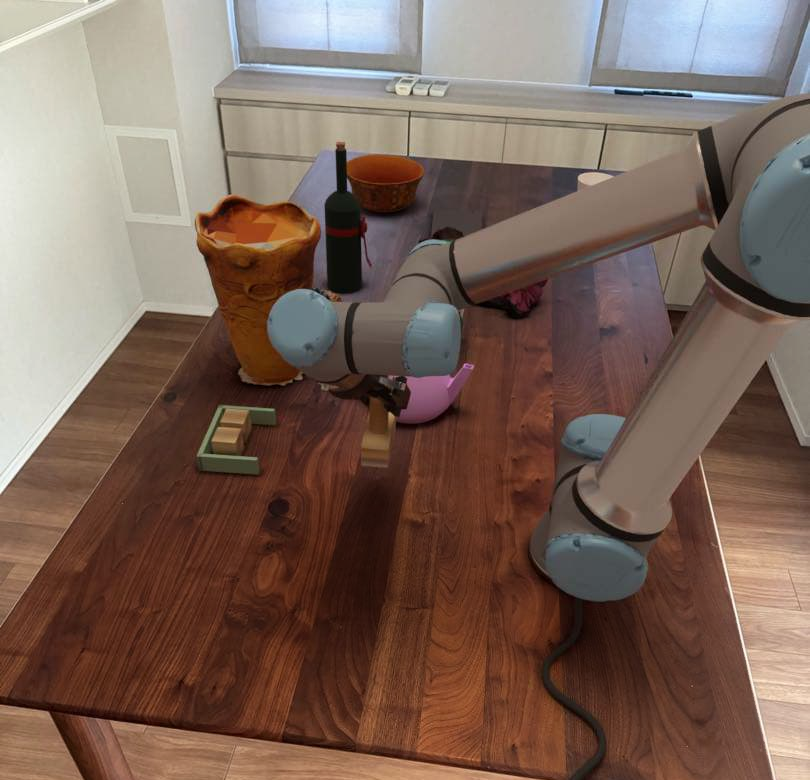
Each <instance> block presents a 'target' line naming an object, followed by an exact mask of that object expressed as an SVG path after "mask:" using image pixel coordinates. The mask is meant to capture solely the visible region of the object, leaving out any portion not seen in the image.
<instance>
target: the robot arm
mask: <svg viewBox="0 0 810 780" xmlns="http://www.w3.org/2000/svg"><path fill="white" fill-rule="evenodd" d="M702 226H704V227H707V228H709V229H711V230H713V231H714V233H712V234H713V235H712V236H711V237H710V239H709V241H708V243H707V245H706V247H705V248H704V250H703V252H702V254H701V256H700V264H701V265H700V266H701V268H702V271H703V274H704V278H705V282H704V284H703V285H702V287H701V289H700V290H699V292H698V294H697V295H696V298H695V299H694V301H693V302H692V304H691V306H690V307H689V309H688V311H687V313H686V314H685V316H684V317H683V319H682V321H681V323H680V325H679V326H678V328H677V329H676V332H675V334H674V335H673V337H672V339H671V340H670V342H669V344H668V345H667V347H666V349H665V350H664V352H663V354H662V356H661V357H660V359H659V360H658V362H657V364H656V366H655V367H654V369H653V371H652V373H651V374H650V376H649V378H648V379H647V381H646V383H645V385H644V387H643V388H642V390H641V392H640V394H639V395H638V397H637V398H636V399H635V402H634V404H633V405H632V407H631V408H630V411H629V412H628V414H627V415H626V417H623V416H620V415H615V414H607V413H592V414H588V415H582V416H579V417H576V418H575V419H573V420H571V421H570V422H569V423H568V424H567V426H566V427H565V429H564V434H563V437H562V438H561V440H560V444H561V447H560V452H559V457H558V462H557V466H556V472H555V477H554V482H553V487H552V492H551V497H550V502H549V507H548V509H546V511H545V513H544V514H543V515H542V517H541V518H540V520H539V522H538V523H537V524H536V525H535V527H534V529H533V531H532V533H531V534H530V538H529V543H528V549H527V550H528V551H527V552H528V558H529V562H530V564H531V566H532V567H533V568H534V570H535V572H537V574H538V575H539V576H540V577H542V578H543V579H544V580H545V581H546V582H548V583H549V584H551V585H552V586H555V587H557V588H558V589H560V590H561V591H562V592H564V593H566V594H568V595H570V596H572V597H575V601H574V624H573V629H572V631H571V632H570V635H569V636H568V638H567V639H566V640H565V641H563V642H562V643H561V644H560V645H559V646H557V647H556V648H555V649H554V650H552V651H551V652H550V653H549V654H548V655H547V656H546V658H545V659H544V661H543V662H542V666H541V678H542V682H543V684H544V686H545V689H546V690H547V691H548V692H549V693H550V694H551V695H552V697H554V698H555V699H556V700H558V701H559V702H560V703H562V705H565V706H566V707H567V708H569V709H570V710H572V711H573V712H575V713H576V714H577V715H579V716H580V717H581V718H583V719H584V720H585V721H586V722H587V723H588V724H589V725H590V726H591V727H592V728H593V731H594V732H595V734H596V738H597V749H596V751H595V753H594V755H592V757H591V758H589V760H587V761H586V762H585V763H584V764H583V765H581V767H579V768H578V769H577V770H576V771H575V772H574V773H573V774H572V776H571V777H570V778H569V780H582V779H583V778H584V777H585V776H586V775H587V774H589V772H591V771H592V770H593V769H594V768H595V767H596V766H598V764H599V763H600V762H601V761H602V759H603V758H604V757H605V754H606V750H607V737H606V733H605V729H604V728H603V727H602V725H601V723H600V722H599V721H598V720H597V719H596V717H594V716H593V714H591V712H589V711H588V710H586V709H585V708H584V707H582V706H581V705H579V704H578V703H576V702H575V701H573V700H572V699H570V698H569V697H568V696H566V695H565V694H564V693H562V692H561V690H559V689H558V688H557V687H556V686H555V685H554V683H553V682H552V680H551V675H550V667H551V665H552V663H553V662H554V661H555V660H556V659H557V658H558V657H560V656H561V655H562V654H563V653H565V652H566V651H567V650H568V649H569V648H571V647H572V646H573V644H574V643H575V642H576V640H577V639H578V637H579V635H580V633H581V630H582V623H583V622H582V621H583V619H582V618H583V617H582V615H583V614H582V613H583V611H582V610H583V609H582V606H583V600H584V601H591V602H599V603H603V602H607V601H613V602H614V601H619V600H623V599H625V598H628V597H630V596H633V595H634V594H635V593H637V592H638V591H639V590H640V589H641V588H642V587H643V585H644V583H645V581H646V579H647V573H648V572H649V563H648V556H649V553H650V550H651V549H652V548H653V546H654V545H655V544H656V542H657V541H658V539H659V538H660V537H661V535H662V534H663V532H664V531H665V530H666V528H667V527H668V526H669V524H670V522H671V521H672V517H673V508H672V504H671V501H670V499H671V497H672V495H673V494H674V493H675V491H676V490H677V488H678V487H679V485H680V484H681V483H682V481H683V479H685V477H686V476H687V474H688V472H689V471H690V470H691V468H692V467H693V465H694V464H695V462H696V461H697V460H698V458H699V457H700V455H701V454H702V452H703V451H704V450H705V449H706V447H707V445H708V444H709V442H710V441H711V439H712V438H713V437H714V435H715V434H716V432H717V431H718V430H719V429H720V427H721V425H722V424H723V422H724V421H725V419H726V418H727V417H728V415H729V414H730V412H731V411H732V409H733V408H734V407H735V405H736V404H737V402H738V401H739V400H740V398H741V397H742V395H743V394H744V392H745V391H746V390H747V388H748V386H749V385H750V384H751V382H752V381H753V379H754V378H755V377H756V375H757V373H758V372H760V370H761V368H762V366H764V363H765V362H766V361H767V360H768V358H769V357H770V355H771V353H772V352H773V350H774V349H775V348H776V346H777V345H778V343H779V342H780V340H781V339H782V338H783V336H784V335H785V333H786V332H787V331H788V329H789V328H790V326H792V325H793V324H797V323H801V322H806V321H809V320H810V92H804V93H798V94H793V95H792V94H791V95H789V96H785V97H784V96H783V97H781V98H778V99H775V100H772V101H769V102H767V103H764V104H762V105H759V106H755V107H754V108H750V109H748V110H746V111H744V112H741V113H739V114H736V115H734V116H731V117H729V118H727V119H724V120H722V121H719V122H717V123H715V124H712V125H710V126H707V127H704V128H702V129H700V130H698V131H695V132H693V134H692V136H691V137H690V139H689V140H688V143H687V144H686V145H685V147H684V148H682V149H679V150H677V151H674V152H672V153H669V154H667V155H665V156H662V157H659V158H657V159H653V160H652V161H649V162H647V163H645V164H642V165H640V166H637V167H635V168H632V169H629V170H627V171H624V172H622V173H619V174H617V175H613V177H612V178H609V179H607V180H604V181H602V182H599V183H597V184H594V185H592V186H589V187H587V188H584V189H582V190H579V191H577V190H576V191H575V192H572V193H570V194H567V195H565V196H562V197H560V198H557V199H555V200H552V201H550V202H547V203H545V204H542V205H540V206H537V207H535V208H532V209H530V210H527V211H525V212H522V213H520V214H517V215H515V216H512V217H509V218H507V219H504V220H502V221H500V222H497V223H495V224H492V225H490V226H486V227H485V228H482V230H480V231H477V232H475V233H472V234H470V235H467V236H465V237H462V238H460V239H456V240H454V241H451V242H446V241H442V240H433V239H432V240H426V241H424V242H421V243H420V244H419V243H418V244H417V245H416V246H414V247H413V248H412V250H410V251H411V252H410V251H409V253H408V254H407V256H405V257H404V258H403V260H402V262H401V263H400V266H399V269H398V271H397V274H396V276H395V277H394V279H393V282H392V284H391V286H390V288H389V290H388V291H387V294H386V296H385V297H384V299H383V301H382V302H373V301H372V302H371V301H370V302H369V301H367V302H363V301H362V302H361V301H360V302H359V301H358V302H357V301H356V302H353V301H342V302H330V300H328V299H327V298H326V297H324V296H322V295H320V294H319V293H317V292H315V291H312V290H308V289H297V290H293V291H290V292H288V293H286V294H285V295H283V296H282V297H281V298H279V299H278V300H277V302H276V303H275V304H274V306H273V307H272V309H271V311H270V314H269V317H268V322H267V331H268V336H269V339H270V342H271V344H272V345H273V347H274V348H275V349H276V351H277V352H278V353H279V354H280V355H281V356H282V358H283V359H284V360H285V361H286V362H287V363H289V364H290V365H292V366H294V367H295V368H297V369H298V370H300V371H301V372H303V374H304V375H305V376H307V377H308V378H310V379H311V380H313V381H314V382H315V383H316V384H318V385H319V386H320V390H321V391H322V392H324V393H329V394H331V395H332V396H333V397H335V398H337V399H341V400H354V401H358V400H360V402H361V403H362V404H363V405H365V407H367V408H368V409H369V397H372V398H377V399H379V400H380V401H382V402H383V403H385V404H384V407H385V408H386V409H387V410H386V411H388V412H390V413H392V414H393V415H394V416H396V417H400V413H401V409H403V410H404V409H407V406H408V403H409V399H410V395H411V391H410V389H409V387H408V386H407V384H406V383H407V378H405V376H408V377H414V378H421V377H425V376H446V375H449V374H450V375H452V373H453V372H454V371H455V370H456V368H457V366H458V363H459V359H460V352H461V342H462V335H461V324H460V316H459V313H458V311H459V310H462V309H464V310H465V309H468V308H471V307H473V306H476V305H479V303H480V302H483V301H486V300H489V299H492V298H495V297H498V296H500V295H503V294H506V293H509V292H512V291H515V290H518V289H521V288H523V287H526V286H529V285H532V284H535V283H538V282H541V281H544V280H546V279H548V280H550V279H553V278H555V277H558V276H560V275H564V274H566V273H569V272H572V271H575V270H578V269H580V268H581V269H582V268H583V267H586V266H589V265H592V264H595V263H598V262H601V261H604V260H606V259H609V258H612V257H615V256H619V255H621V254H624V253H627V252H629V251H633V250H636V249H639V248H640V247H644V246H647V245H650V244H653V243H656V242H659V241H661V240H664V239H667V238H670V237H673V236H675V235H679V234H681V233H684V232H688V231H690V230H692V229H695V228H698V227H702ZM387 375H391V376H394V377H393V380H391V379H388V378H387ZM395 376H398V377H395Z"/></svg>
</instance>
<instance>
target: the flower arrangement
mask: <svg viewBox="0 0 810 780" xmlns="http://www.w3.org/2000/svg"><path fill="white" fill-rule="evenodd" d="M462 237H464V236H463V233H462V232H461V231H458V230H456V229H455V228H452V227H448V226H446V227H445V228H443V229H441V230H439V229H438V231H436V232H435V233H434V234H432V237H431V236H430V237H429V236H428V237H426V238H423V239H419V240H418V241H417V242H418V244H420V243H421V242H424V241H426V240H432V239H433V240H443V239H452V240H456V239H460V238H462ZM411 251H412V250H410V251H409V253H410V252H411ZM548 281H549V279H546V280H544V281H541V282H538V283H535V284H532V285H529V286H526V287H523V288H521V289H518V290H515V291H512V292H509V293H506V294H503V295H500V296H498V297H495V298H492V299H489V300H486V301H483V302H480V303H479V304H478V305H479V306H484V307H489V308H494V309H502V310H505V311H508V312H509V313H510V314H511V316H512V317H513V318H515V319H523V318H525V317H527V315H529V312H530V311H531V308H532V307H535V306H537V305H538V302H539V300H540V298H541V297H542V296H543V294H544V292H543V288H544V287H545V286H546V284H547V283H548Z"/></svg>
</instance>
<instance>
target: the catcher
mask: <svg viewBox="0 0 810 780" xmlns="http://www.w3.org/2000/svg"><path fill="white" fill-rule="evenodd" d="M226 409H239V410H249V413H250V421H251V425H262V426H263V425H264V426H276V424H277V417H276V409H275V408H269V407H255V406H254V407H252V406H238V405H226V404H225V405H223V404H219V405H218V407H217V409H216V411H215V414H214V416H213V418H212V420H211V422H210V425H209V427H208V429H207V432H206V434H205V436H204V438H203V440H202V443H201V445H200V447H199V450H198V451H197V454H196V460H197V466H198V471H201V472H217V473H232V474H243V475H244V474H245V475H258V476H259V475H260V465H259V459H258V456H257V457H256V456H244V455H243V456H242V455H241V456H230V455H215V454H214V453H213V448H212V442H211V441H212V438H213V436H214V434H215V432H216V430H217V428H218V427H221V424H220V421H221V419H222V417H223V415H224V413H225V410H226ZM212 453H213V454H212Z"/></svg>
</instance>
